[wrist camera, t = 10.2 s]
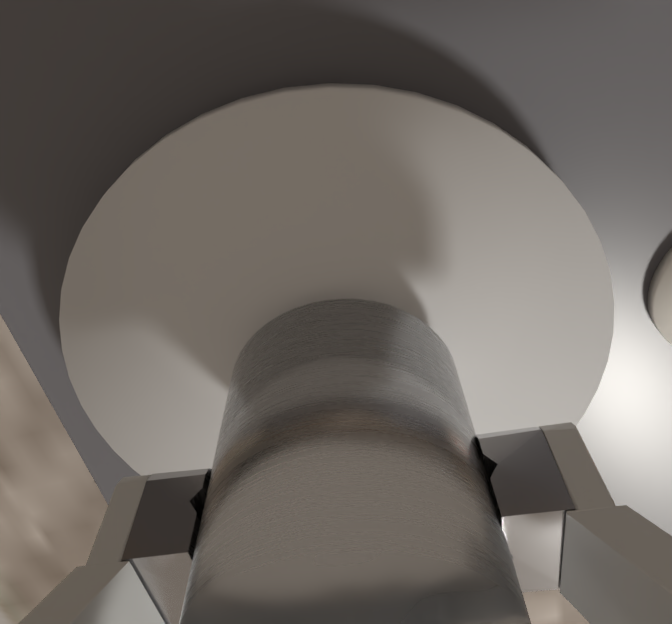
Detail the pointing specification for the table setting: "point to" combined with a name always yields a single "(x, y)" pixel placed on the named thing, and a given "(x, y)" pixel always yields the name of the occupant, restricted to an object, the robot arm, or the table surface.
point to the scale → (341, 208)
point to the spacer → (349, 483)
